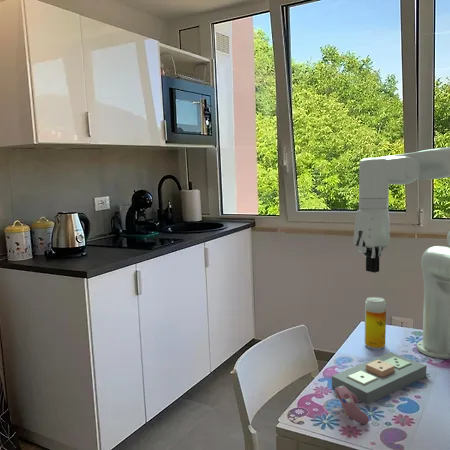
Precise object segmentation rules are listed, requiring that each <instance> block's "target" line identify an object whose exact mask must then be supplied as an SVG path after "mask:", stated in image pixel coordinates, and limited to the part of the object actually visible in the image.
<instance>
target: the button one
mask: <svg viewBox="0 0 450 450" xmlns="http://www.w3.org/2000/svg"><path fill="white" fill-rule="evenodd" d="M348 379H351V380H353V381H355V382H357V383H359V384H361V385H363V386H365V385H367V384H369V383H372V382H374V381H376V380H377V377H375V376H372V375H370V374H368V373H365V372H363V371H359V372H356V373H354V374H351V375H349V376H348Z"/></svg>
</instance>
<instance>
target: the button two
mask: <svg viewBox="0 0 450 450" xmlns="http://www.w3.org/2000/svg"><path fill="white" fill-rule="evenodd" d="M366 371H368V372H370V373H373V374H375V375H377V376H380V377H382V378H383V377H385V376H387V375H389V374H392V373H394V365H391V364H389V363H386V362H383V361H381V360H376V361H373V362H371V363H368V364H366Z"/></svg>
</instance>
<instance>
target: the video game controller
mask: <svg viewBox="0 0 450 450" xmlns="http://www.w3.org/2000/svg"><path fill="white" fill-rule="evenodd" d="M334 390H335V394H333V395H334V398H335V399H336V400H340V404H341V407H342V409H343V412H344V415H345V416H346V417H348V418H349V419H352V420H353V421H354V422H356V423H359V424H362V425H367V424H368V423H369V421H370V418H369V416H368V415H367V413H365V412H364V411H363V410H361V409H360V408H359V407H358V406H357V405H356V404H358V403H359V401H358V398H357V396H356V395H355V394H353V393H352V392H350V391H349V390H348V389H347V388H346V387H345V386H339V387H337V388H334Z"/></svg>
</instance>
